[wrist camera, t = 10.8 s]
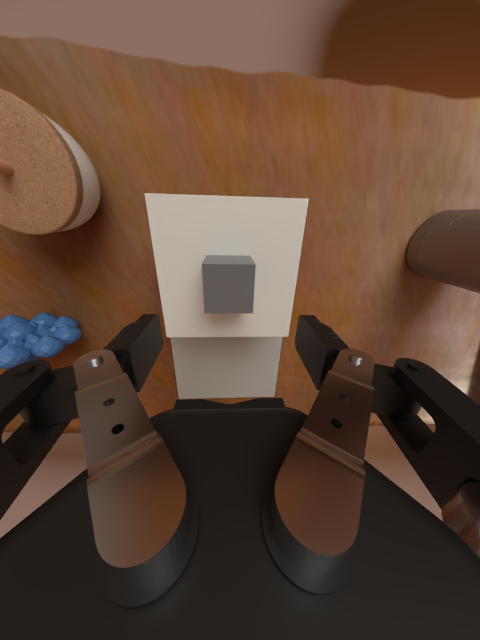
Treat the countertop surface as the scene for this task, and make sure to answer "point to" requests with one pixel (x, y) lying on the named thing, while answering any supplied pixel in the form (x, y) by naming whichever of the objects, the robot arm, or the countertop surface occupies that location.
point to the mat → (226, 366)
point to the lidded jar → (42, 173)
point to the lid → (226, 262)
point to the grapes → (34, 338)
